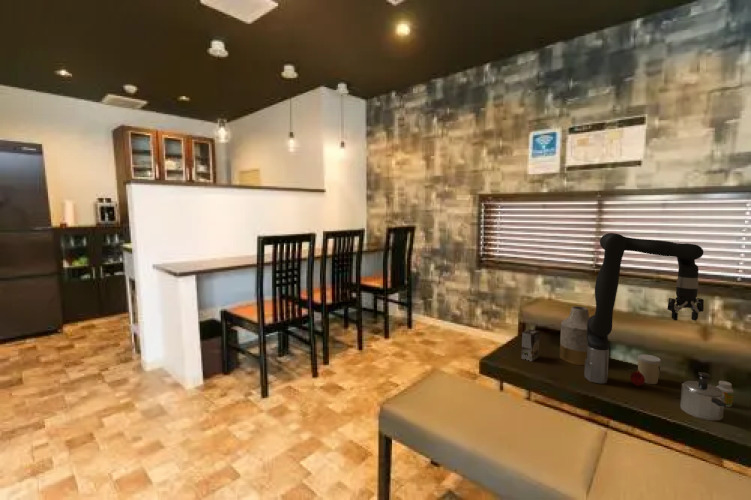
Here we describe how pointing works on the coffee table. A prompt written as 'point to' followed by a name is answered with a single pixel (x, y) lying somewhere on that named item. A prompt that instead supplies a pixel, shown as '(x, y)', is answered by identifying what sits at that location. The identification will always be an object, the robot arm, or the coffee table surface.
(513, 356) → the coffee table surface
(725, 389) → the supplement bottle
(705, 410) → the pot
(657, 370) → the coffee cup
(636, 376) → the onion
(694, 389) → the lid
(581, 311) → the vase
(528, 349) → the coffee box
